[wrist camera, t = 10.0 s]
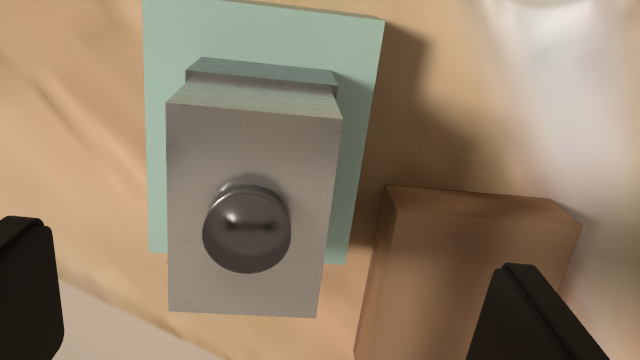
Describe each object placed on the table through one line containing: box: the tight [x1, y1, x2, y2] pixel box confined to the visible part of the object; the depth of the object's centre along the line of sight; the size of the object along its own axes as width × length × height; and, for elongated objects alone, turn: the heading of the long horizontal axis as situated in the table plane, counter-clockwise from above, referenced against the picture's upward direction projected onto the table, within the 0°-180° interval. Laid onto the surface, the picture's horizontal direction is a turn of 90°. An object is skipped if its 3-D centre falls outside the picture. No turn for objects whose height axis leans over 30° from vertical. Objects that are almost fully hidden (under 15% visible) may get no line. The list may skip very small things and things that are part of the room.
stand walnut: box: [354, 185, 583, 360], centre depth 25 cm, size 9×11×3 cm
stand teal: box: [142, 0, 385, 265], centre depth 21 cm, size 9×11×3 cm
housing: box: [165, 57, 343, 318], centre depth 16 cm, size 5×7×7 cm
